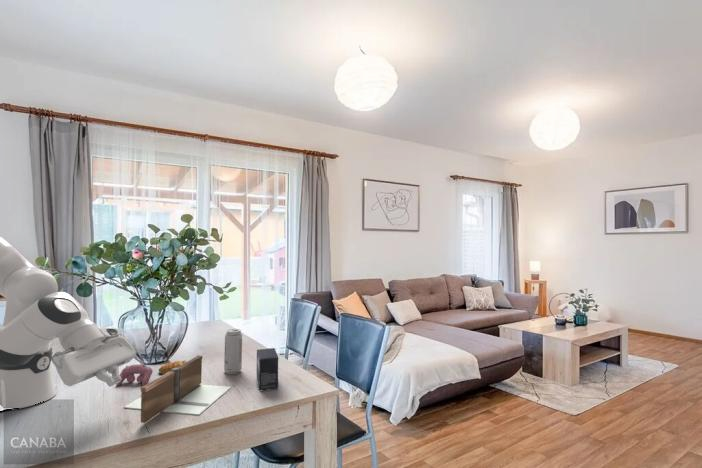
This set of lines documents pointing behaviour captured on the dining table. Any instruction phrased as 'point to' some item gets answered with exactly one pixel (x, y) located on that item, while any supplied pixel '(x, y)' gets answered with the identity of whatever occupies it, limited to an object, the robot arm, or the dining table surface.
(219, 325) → the dining table surface
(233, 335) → the energy drink can
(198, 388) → the card
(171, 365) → the pastry
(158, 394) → the fence panel
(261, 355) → the small box
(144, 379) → the video game controller
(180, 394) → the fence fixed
